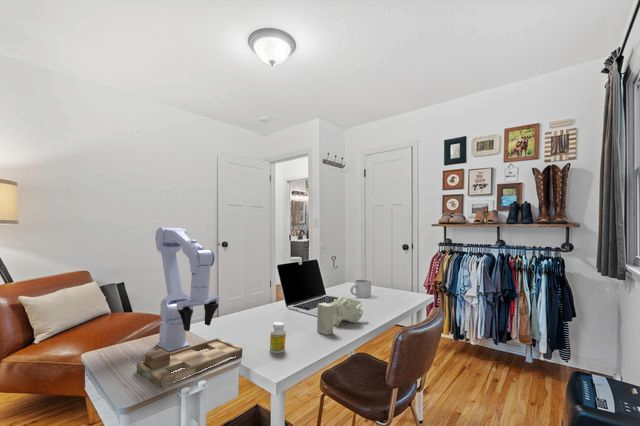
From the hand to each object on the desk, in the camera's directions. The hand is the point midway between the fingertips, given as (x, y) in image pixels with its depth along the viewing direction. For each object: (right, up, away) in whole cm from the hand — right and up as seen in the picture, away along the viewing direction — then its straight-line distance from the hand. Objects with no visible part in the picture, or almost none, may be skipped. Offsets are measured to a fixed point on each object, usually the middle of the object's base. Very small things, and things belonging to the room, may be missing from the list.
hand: (197, 327), depth 101 cm
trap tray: (0, -10, -3) cm, 11 cm away
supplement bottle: (+25, -13, +10) cm, 30 cm away
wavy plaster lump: (+53, -16, +48) cm, 73 cm away
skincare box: (+43, -14, +32) cm, 55 cm away
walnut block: (-8, -8, -10) cm, 15 cm away
